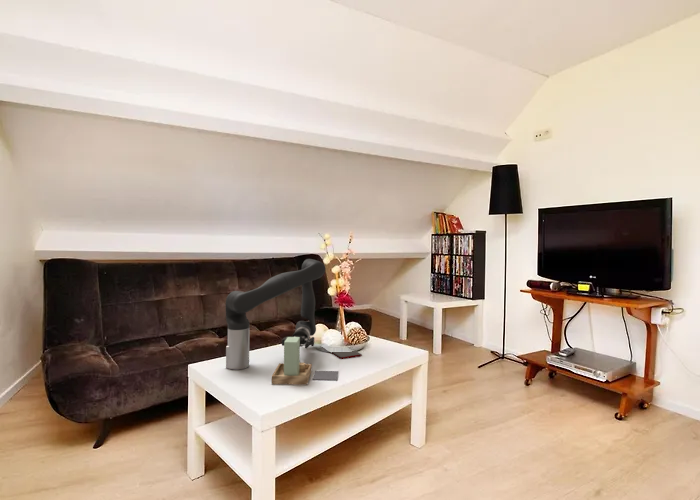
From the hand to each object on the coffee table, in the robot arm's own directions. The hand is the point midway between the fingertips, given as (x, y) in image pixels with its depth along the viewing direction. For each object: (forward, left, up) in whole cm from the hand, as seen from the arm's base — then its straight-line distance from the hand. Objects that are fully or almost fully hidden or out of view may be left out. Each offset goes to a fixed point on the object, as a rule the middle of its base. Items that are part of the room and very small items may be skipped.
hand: (296, 346), depth 165 cm
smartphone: (+18, +29, -11) cm, 36 cm away
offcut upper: (+1, -4, -8) cm, 9 cm away
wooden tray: (0, -9, -11) cm, 14 cm away
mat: (+13, -6, -11) cm, 18 cm away
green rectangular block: (0, -11, -9) cm, 14 cm away
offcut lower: (0, -4, -9) cm, 10 cm away
